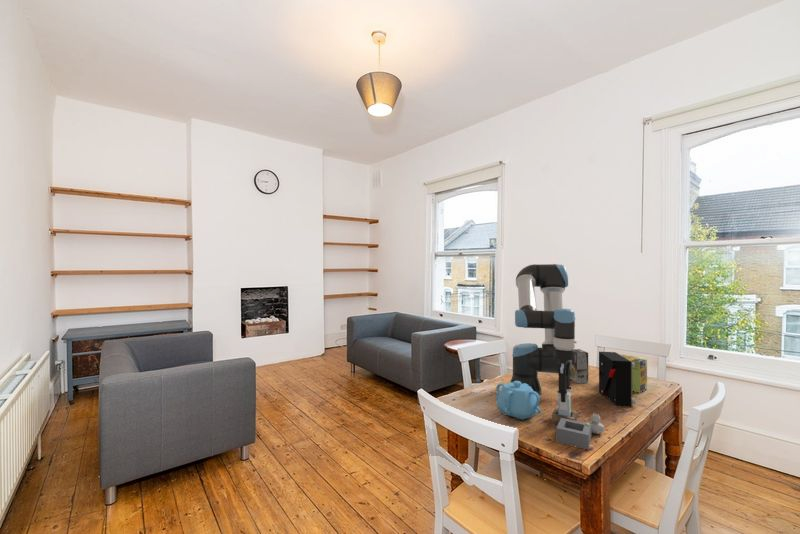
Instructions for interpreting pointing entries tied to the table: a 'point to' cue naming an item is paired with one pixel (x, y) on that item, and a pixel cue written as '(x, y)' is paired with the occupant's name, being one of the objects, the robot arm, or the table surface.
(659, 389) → the table surface
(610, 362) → the electrical component
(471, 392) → the table surface
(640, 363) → the protein box
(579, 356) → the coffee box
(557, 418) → the holster
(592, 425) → the rubber duck
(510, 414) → the decorative pot
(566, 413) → the plug
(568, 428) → the port
